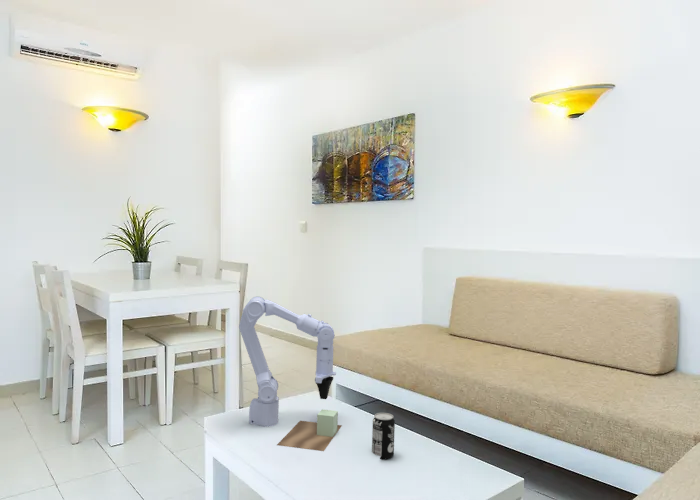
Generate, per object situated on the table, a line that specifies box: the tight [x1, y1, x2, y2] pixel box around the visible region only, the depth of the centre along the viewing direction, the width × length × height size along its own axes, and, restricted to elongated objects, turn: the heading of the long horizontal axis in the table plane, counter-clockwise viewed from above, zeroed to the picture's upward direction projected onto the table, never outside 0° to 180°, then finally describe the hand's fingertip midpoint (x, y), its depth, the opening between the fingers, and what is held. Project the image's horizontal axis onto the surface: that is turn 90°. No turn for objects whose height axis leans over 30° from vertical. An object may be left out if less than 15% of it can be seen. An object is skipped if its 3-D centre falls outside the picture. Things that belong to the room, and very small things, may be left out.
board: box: [276, 420, 343, 452], centre depth 166 cm, size 15×22×1 cm
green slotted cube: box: [316, 408, 339, 437], centre depth 168 cm, size 5×5×7 cm
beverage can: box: [371, 412, 396, 460], centre depth 155 cm, size 7×7×12 cm
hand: (323, 398), depth 178 cm, fingers closed
